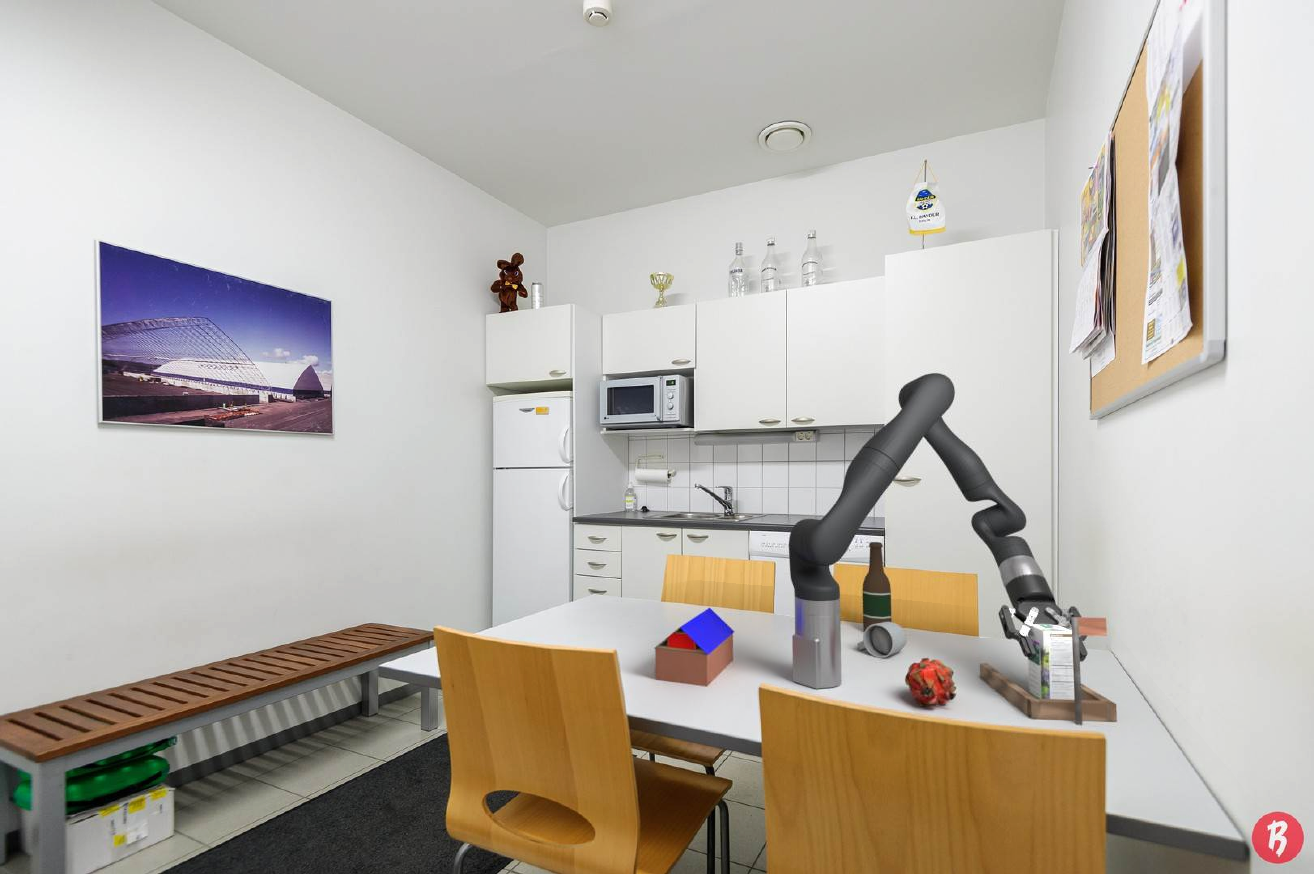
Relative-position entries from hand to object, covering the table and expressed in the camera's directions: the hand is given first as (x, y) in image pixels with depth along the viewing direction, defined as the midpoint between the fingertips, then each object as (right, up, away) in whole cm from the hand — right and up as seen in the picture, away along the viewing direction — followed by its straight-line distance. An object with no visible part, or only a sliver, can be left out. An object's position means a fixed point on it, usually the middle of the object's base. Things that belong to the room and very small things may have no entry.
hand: (1057, 658), depth 115 cm
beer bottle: (-14, -12, +55) cm, 58 cm away
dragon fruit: (-22, -10, +3) cm, 24 cm away
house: (-64, -11, +24) cm, 70 cm away
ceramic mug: (-20, -11, +35) cm, 42 cm away
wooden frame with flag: (+1, -9, +5) cm, 11 cm away
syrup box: (0, -10, +2) cm, 10 cm away
